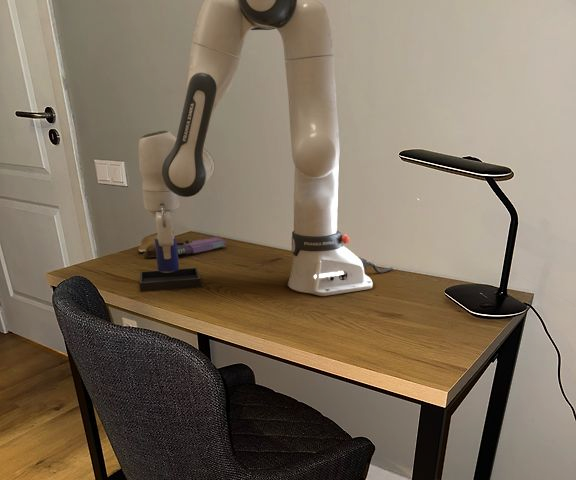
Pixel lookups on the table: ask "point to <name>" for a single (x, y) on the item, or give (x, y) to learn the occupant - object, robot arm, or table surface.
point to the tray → (169, 279)
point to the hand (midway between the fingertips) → (167, 254)
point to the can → (166, 264)
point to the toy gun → (199, 245)
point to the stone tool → (148, 246)
